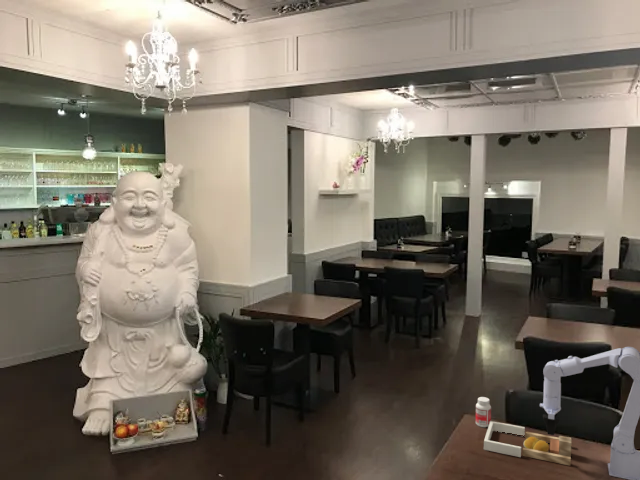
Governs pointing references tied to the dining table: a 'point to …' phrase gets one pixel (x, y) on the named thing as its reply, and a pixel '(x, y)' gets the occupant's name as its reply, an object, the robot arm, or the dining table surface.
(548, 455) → the slot rails
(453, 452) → the dining table surface
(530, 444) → the bread roll
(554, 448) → the two-tone t block
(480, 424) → the pill bottle
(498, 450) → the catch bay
